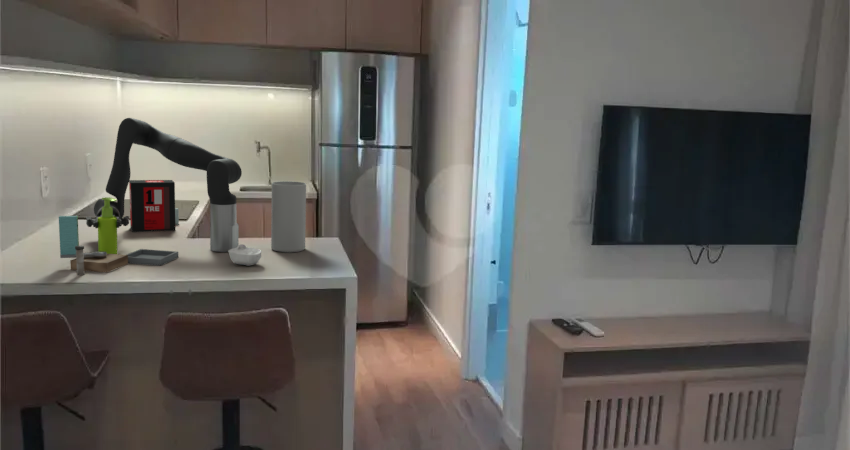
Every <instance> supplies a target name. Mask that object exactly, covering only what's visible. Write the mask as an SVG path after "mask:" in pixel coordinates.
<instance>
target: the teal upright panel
mask: <svg viewBox="0 0 850 450" xmlns="http://www.w3.org/2000/svg"><path fill="white" fill-rule="evenodd" d="M58 229H59V231H58V233H59V252H60V256H59V257H60V259H76V249H75V246H80V241H79V240H80V238H79V236H80V234H79V216H78V215H59V216H58ZM86 257H93V258H104V257H107V252H106V251H98V250H96V251H93V252H84V258H86Z"/></svg>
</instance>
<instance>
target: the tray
mask: <svg viewBox="0 0 850 450" xmlns="http://www.w3.org/2000/svg"><path fill="white" fill-rule="evenodd" d="M125 255H128V264H129V265H130V264H131V265H132V264H133V265H143V266H144V265H146V266H159V267H160V266H163V265H165V264H168V263H169V262H172V261H174V260H176V259H178V258H179V251H178V250H177V251H176V250H175V251H173V250H162V249H161V250H159V249H147V248H140V249H137V250H135V251H132V252H129V253H126V254H125Z"/></svg>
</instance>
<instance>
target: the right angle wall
mask: <svg viewBox="0 0 850 450" xmlns="http://www.w3.org/2000/svg"><path fill="white" fill-rule="evenodd" d="M179 216H180V215H179V208H176V207H175V226H176V225H180V221H179V220H180V219H179V218H180V217H179Z"/></svg>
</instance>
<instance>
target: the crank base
mask: <svg viewBox="0 0 850 450" xmlns="http://www.w3.org/2000/svg"><path fill="white" fill-rule="evenodd" d="M75 249H76V258H72V259H71V260H70V261H69V262H70V270H71V271H76V275H77V276H85V272H97V273H110V272H112V271H114V270H116V269H119V268H122V267H124V266H127V265H129V263H128V255H126V254H120V253H119V254H118V253H117V254H107V257H104V258H93V257H86V258H84V253H85V252H84V249H85V245H79V246H75Z"/></svg>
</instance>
